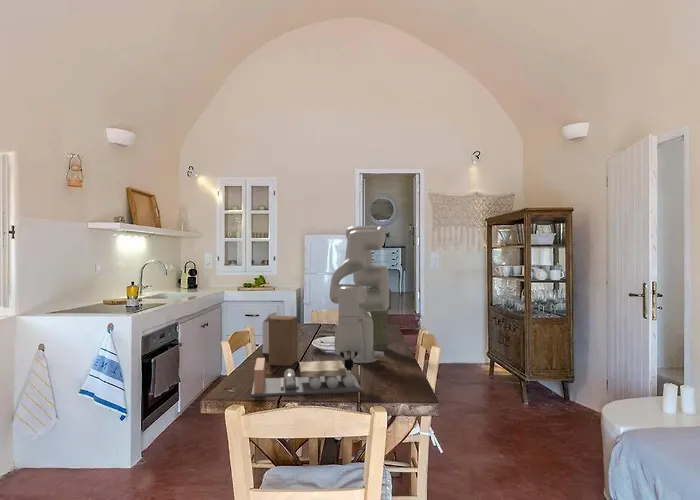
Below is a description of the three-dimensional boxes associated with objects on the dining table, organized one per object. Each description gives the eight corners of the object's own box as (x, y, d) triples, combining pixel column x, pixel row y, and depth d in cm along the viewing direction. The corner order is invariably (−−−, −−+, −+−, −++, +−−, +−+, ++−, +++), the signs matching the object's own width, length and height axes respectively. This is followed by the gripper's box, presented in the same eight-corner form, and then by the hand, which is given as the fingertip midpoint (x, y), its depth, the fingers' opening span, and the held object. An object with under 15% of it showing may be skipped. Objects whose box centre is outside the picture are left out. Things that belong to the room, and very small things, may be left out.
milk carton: (282, 351, 233) (282, 312, 233) (275, 354, 226) (275, 314, 226) (269, 350, 235) (269, 311, 235) (262, 353, 228) (262, 313, 228)
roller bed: (353, 377, 187) (353, 354, 187) (361, 391, 168) (361, 366, 168) (254, 381, 182) (254, 357, 182) (251, 396, 163) (251, 370, 163)
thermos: (367, 347, 243) (367, 277, 242) (390, 347, 242) (390, 278, 242) (366, 350, 234) (366, 279, 234) (391, 351, 233) (391, 279, 233)
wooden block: (290, 366, 204) (290, 319, 203) (268, 365, 206) (268, 318, 205) (297, 361, 213) (297, 316, 213) (276, 360, 215) (276, 315, 215)
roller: (294, 379, 181) (295, 368, 181) (295, 390, 168) (296, 379, 168) (283, 379, 181) (284, 368, 181) (283, 390, 167) (284, 378, 167)
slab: (341, 365, 184) (341, 360, 184) (346, 375, 170) (346, 369, 170) (299, 367, 182) (299, 362, 182) (300, 377, 168) (300, 371, 168)
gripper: (366, 318, 182) (366, 366, 182) (327, 319, 180) (327, 368, 180) (370, 321, 174) (370, 371, 175) (329, 322, 172) (329, 373, 172)
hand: (348, 369), depth 177 cm, fingers closed
